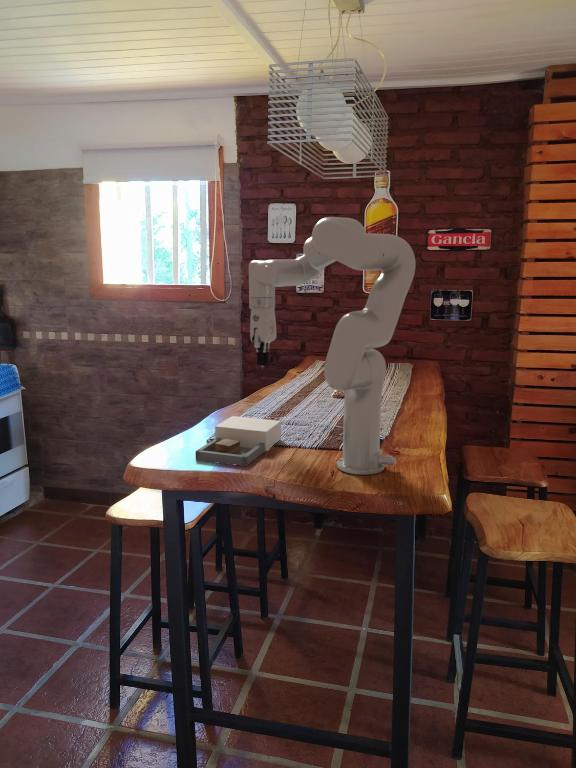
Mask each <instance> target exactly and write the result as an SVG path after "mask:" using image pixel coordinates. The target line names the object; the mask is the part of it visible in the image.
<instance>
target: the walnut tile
mask: <svg viewBox="0 0 576 768" xmlns="http://www.w3.org/2000/svg"><path fill="white" fill-rule="evenodd" d="M215 452H219V453H227V454H236V453H238V452H240V441H235V440H230V439H223V440H221V441H219V442H217V443H215Z"/></svg>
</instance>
